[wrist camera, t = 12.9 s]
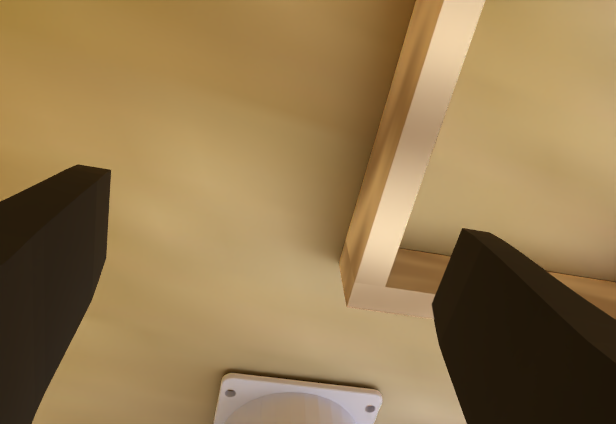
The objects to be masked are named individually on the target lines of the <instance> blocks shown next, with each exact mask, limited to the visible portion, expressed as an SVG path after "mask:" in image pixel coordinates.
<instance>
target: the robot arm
mask: <svg viewBox="0 0 616 424" xmlns="http://www.w3.org/2000/svg"><path fill="white" fill-rule="evenodd" d="M110 179H111V170H108V169H102V168H96V167H90V166H84V165H76V166H73V167H71V168H68V169H66V170H64V171H62V172H60V173H58V174H56V175H54V176H52V177H50V178H48V179H46V180H44V181H42V182H40V183H38V184H36V185H34V186H32V187H30V188H28V189H26V190H24V191H22V192H20V193H18V194H16V195H14V196H11V197H9V198H7V199H5V200H3V201H1V202H0V424H32V421H33V419H34V416H35V413H36V411H37V409H38V407H39V405H40V402H41V400H42V398H43V396H44V394H45V391H46V389H47V388H48V386H49V384H50V382H51V380H52V378H53V376H54V374H55V372H56V370H57V368H58V366H59V364H60V362H61V360H62V358H63V356H64V354H65V352H66V350H67V348H68V346H69V344H70V342H71V340H72V338H73V337H74V335H75V333H76V331H77V329H78V327H79V325H80V323H81V321H82V319H83V317H84V315H85V313H86V311H87V309H88V307H89V305H90V303H91V300H92V298H93V295H94V292H95V289H96V287H97V284H98V281H99V278H100V275H101V272H102V269H103V266H104V263H105V260H106V250H107V232H108V214H109V196H110ZM432 310H433V316H434V322H435V327H436V332H437V337H438V342H439V346H440V349H441V352H442V355H443V358H444V361H445V364H446V366H447V369H448V372H449V375H450V378H451V381H452V383H453V386H454V389H455V392H456V395H457V397H458V400H459V403H460V406H461V408H462V411H463V414H464V417H465V419H466V422H467V424H616V319H614V318H613V317H611V316H610V315H608V314H607V313H605V312H604V311H602V310H601V309H599V308H598V307H596V306H595V305H593V304H592V303H590V302H589V301H587V300H586V299H584V298H583V297H582V296H580V295H579V294H577V293H576V292H574V291H573V290H572V289H570V288H569V287H567V286H566V285H565V284H563V283H562V282H560V281H559V280H558V279H556V278H555V277H554V276H552V275H551V274H550V273H548V272H547V271H545V270H544V269H543V268H541V267H540V266H539V265H537V264H536V263H535V262H533V261H532V260H530V259H529V258H528V257H526V256H525V255H524V254H522V253H521V252H519V251H518V250H517V249H515V248H514V247H512V246H511V245H509V244H508V243H506V242H505V241H503V240H502V239H500V238H498V237H497V236H495V235H493V234H491V233H489V232H483V231H476V230H470V229H464V228H462V230H461V233H460V235H459V238H458V240H457V243H456V245H455V248H454V250H453V253H452V255H451V257H450V260H449V262H448V265H447V267H446V270H445V272H444V275H443V277H442V280H441V282H440V285H439V287H438V290H437V292H436V294H435V297H434V299H433V302H432ZM228 390H233V391H228ZM382 400H383V399H382V395H381V393H380V392H379V391H378V390H375V389H367V388H358V387H350V386H341V385H333V384H324V383H315V382H307V381H298V380H289V379H281V378H272V377H264V376H255V375H246V374H238V373H229V374H226V375H225V376H223V378H222V381H221V386H220V391H219V396H218V401H217V406H216V411H215V416H214V421H213V424H374V422H375V419H376V417H377V414H378V412H379V409H380V407H381V404H382ZM368 405H372V406H368Z"/></svg>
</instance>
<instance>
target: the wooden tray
mask: <svg viewBox="0 0 616 424" xmlns="http://www.w3.org/2000/svg"><path fill="white" fill-rule="evenodd" d="M484 3H485V0H416V2H415V6H414V9H413V12H412V16H411V19H410V23H409V26H408V29H407V33H406V36H405V40H404V43H403V46H402V50H401V53H400V57H399V60H398V63H397V67H396V70H395V74H394V77H393V80H392V84H391V87H390V91H389V94H388V97H387V101H386V104H385V108H384V111H383V114H382V118H381V121H380V125H379V128H378V131H377V135H376V138H375V142H374V145H373V148H372V152H371V155H370V159H369V162H368V165H367V169H366V172H365V176H364V179H363V182H362V186H361V189H360V193H359V196H358V199H357V203H356V206H355V210H354V213H353V216H352V220H351V223H350V227H349V230H348V233H347V237H346V240H345V244H344V247H343V250H342V254H341V257H340V261H339V267H340V272H341V278H342V283H343V289H344V294H345V300H346V305H347V307H349V308H356V309H363V310H370V311H378V312H385V313H392V314H399V315H407V316H414V317H421V318H428V319H434V316H433V310H432V302H433V299H434V297H435V294H436V292H437V290H438V287H439V285H440V282H441V280H442V277H443V275H444V272H445V270H446V267H447V265H448V262H449V260H450V257H451V256H445V255H439V254H432V253H426V252H420V251H413V250H407V249H400V248H399V246H400V243H401V240H402V237H403V234H404V231H405V228H406V226H407V223H408V220H409V217H410V214H411V211H412V208H413V206H414V203H415V200H416V197H417V194H418V191H419V188H420V186H421V183H422V180H423V177H424V174H425V171H426V168H427V166H428V163H429V160H430V157H431V154H432V151H433V148H434V146H435V143H436V140H437V137H438V134H439V131H440V128H441V125H442V123H443V120H444V117H445V114H446V111H447V108H448V105H449V103H450V100H451V97H452V94H453V91H454V88H455V85H456V83H457V80H458V77H459V74H460V71H461V68H462V65H463V63H464V60H465V57H466V54H467V51H468V48H469V45H470V43H471V40H472V37H473V34H474V31H475V28H476V25H477V23H478V20H479V17H480V14H481V11H482V8H483V5H484ZM548 273H550V274H551V275H552V276H554V277H555V278H556V279H558V280H559V281H560V282H562V283H563V284H565V285H566V286H567V287H569V288H570V289H572V290H573V291H574V292H576V293H577V294H579V295H580V296H582V297H583V298H584V299H586V300H587V301H589V302H590V303H592V304H593V305H595V306H596V307H598V308H599V309H601V310H602V311H604V312H605V313H607V314H608V315H610V316H611V317H613V318H614V319H616V282H611V281H604V280H598V279H592V278H585V277H579V276H572V275H566V274H560V273H553V272H548Z"/></svg>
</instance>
